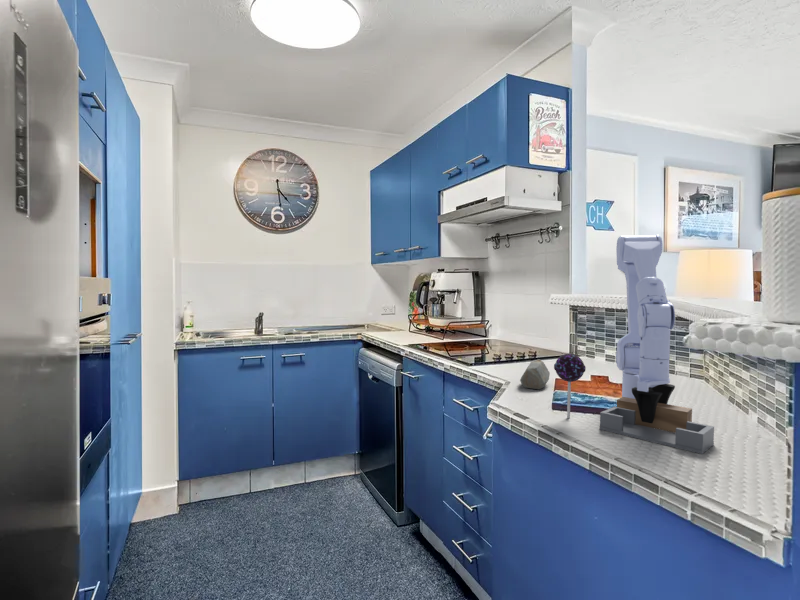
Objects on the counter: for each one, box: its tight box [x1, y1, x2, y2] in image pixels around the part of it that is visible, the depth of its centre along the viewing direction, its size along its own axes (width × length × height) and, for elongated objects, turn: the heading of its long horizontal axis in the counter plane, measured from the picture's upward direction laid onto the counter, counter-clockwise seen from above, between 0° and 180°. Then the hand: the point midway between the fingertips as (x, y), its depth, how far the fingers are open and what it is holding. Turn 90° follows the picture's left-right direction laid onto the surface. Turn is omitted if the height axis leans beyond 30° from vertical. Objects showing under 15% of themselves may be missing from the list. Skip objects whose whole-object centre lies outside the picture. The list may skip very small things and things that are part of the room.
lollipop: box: [553, 353, 587, 419], centre depth 106 cm, size 7×7×15 cm
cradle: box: [599, 406, 715, 455], centre depth 94 cm, size 8×19×4 cm, turn 42°
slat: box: [616, 396, 693, 433], centre depth 101 cm, size 4×14×5 cm, turn 46°
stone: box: [519, 358, 550, 390], centre depth 140 cm, size 12×8×8 cm, turn 154°
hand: (652, 418), depth 101 cm, fingers open, 6 cm apart
